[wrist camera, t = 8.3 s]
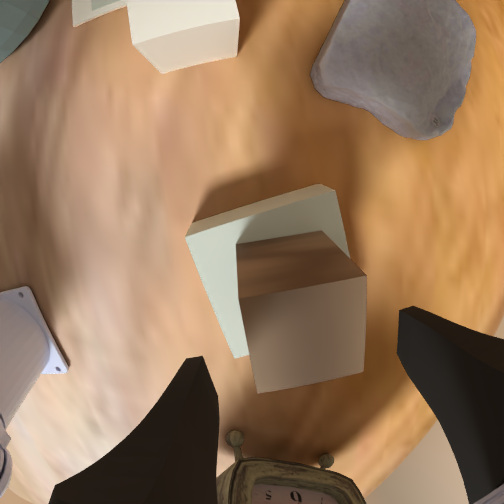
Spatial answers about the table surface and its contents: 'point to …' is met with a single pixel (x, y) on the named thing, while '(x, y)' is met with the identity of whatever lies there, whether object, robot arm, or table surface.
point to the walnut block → (301, 310)
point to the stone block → (399, 62)
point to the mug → (17, 22)
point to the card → (93, 9)
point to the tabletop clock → (282, 481)
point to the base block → (254, 229)
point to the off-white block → (184, 31)
